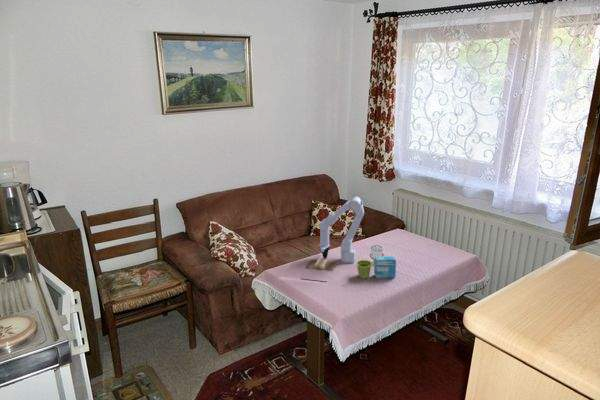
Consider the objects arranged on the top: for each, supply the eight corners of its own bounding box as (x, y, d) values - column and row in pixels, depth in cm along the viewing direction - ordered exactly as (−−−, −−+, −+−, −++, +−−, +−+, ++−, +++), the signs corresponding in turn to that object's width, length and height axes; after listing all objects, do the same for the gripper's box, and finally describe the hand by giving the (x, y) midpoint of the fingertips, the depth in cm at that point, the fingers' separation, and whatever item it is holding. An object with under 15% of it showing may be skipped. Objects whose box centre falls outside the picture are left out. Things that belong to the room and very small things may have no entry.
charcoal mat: (331, 273, 255) (331, 272, 254) (326, 282, 244) (326, 281, 243) (306, 270, 259) (306, 269, 259) (300, 279, 248) (300, 278, 248)
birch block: (327, 262, 266) (327, 259, 265) (324, 269, 257) (323, 266, 256) (318, 261, 268) (318, 258, 267) (314, 268, 259) (314, 265, 258)
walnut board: (337, 264, 266) (337, 262, 266) (332, 273, 254) (332, 271, 254) (310, 261, 271) (310, 259, 271) (304, 270, 260) (304, 268, 259)
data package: (375, 278, 246) (375, 260, 243) (374, 274, 251) (374, 256, 247) (395, 277, 246) (396, 259, 243) (393, 274, 250) (394, 256, 247)
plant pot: (370, 281, 243) (370, 267, 241) (354, 279, 247) (354, 265, 244) (373, 274, 252) (373, 261, 249) (357, 272, 255) (358, 259, 252)
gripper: (321, 234, 275) (321, 252, 279) (315, 242, 262) (316, 261, 266) (331, 234, 273) (332, 253, 277) (326, 243, 260) (327, 262, 264)
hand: (325, 257), depth 271 cm, fingers closed
